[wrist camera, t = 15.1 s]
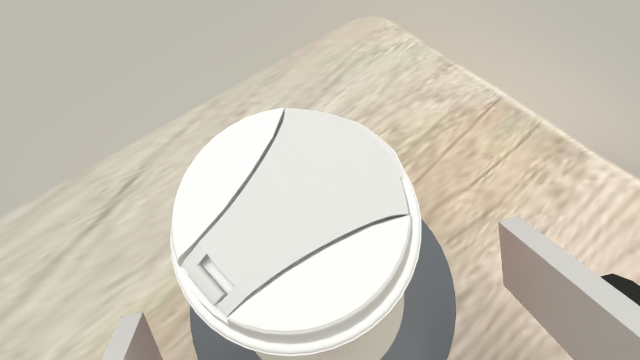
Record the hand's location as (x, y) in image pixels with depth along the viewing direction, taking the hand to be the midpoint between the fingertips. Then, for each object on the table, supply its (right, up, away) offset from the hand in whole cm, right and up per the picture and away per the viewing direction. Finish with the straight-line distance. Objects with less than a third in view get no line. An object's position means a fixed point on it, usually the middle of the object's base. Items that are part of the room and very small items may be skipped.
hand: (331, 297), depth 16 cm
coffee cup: (0, -3, +11) cm, 11 cm away
